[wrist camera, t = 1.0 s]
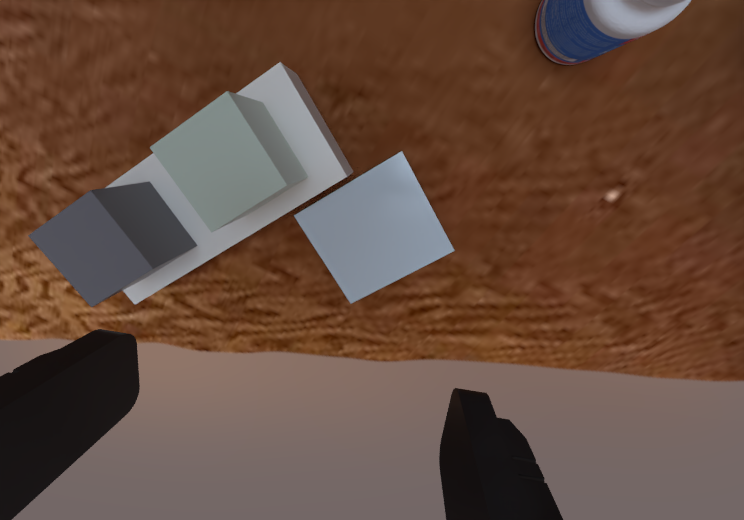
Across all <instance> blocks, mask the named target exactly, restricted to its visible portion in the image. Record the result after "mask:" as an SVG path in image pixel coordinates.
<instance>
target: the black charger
mask: <svg viewBox="0 0 744 520" xmlns="http://www.w3.org/2000/svg"><path fill="white" fill-rule="evenodd" d="M28 236H29V237H30V238H31V239H32V241H33V242H34V243H35V244H36V245H37V246H38V247H39V248H40V250H41V251H42V252H43V253H44V254H45V255H46V256H47V257H48V259H49V260H50V261H51V262H52V263H53V264H54V265H55V267H56V268H57V269H58V270H59V271H60V272H61V273H62V274H63V276H64V277H65V278H66V279H67V280H68V281H69V282H70V284H71V285H72V286H73V287H74V288H75V289H76V290H77V291H78V293H79V294H80V295H81V296H82V297H83V298H84V299H85V301H86V302H87V303H88V304H89V305H90V306H91V307H93V306H95V305H97V304H99V303H100V302H102V301H104V300H106V299H108V298H110V297H111V296H113V295H115V294H117V293H119V292H121V291H123V290H124V289H126V288H128V287H130V286H132V285H134V284H136V283H137V282H139V281H141V280H143V279H145V278H146V277H148V276H150V275H151V274H153V273H154V272H156V271H158V270H159V269H161V268H163V267H164V266H166V265H167V264H169V263H171V262H172V261H174V260H175V259H177V258H179V257H180V256H182V255H184V254H185V253H187V252H188V251H190V250H192V249H193V248H195V247H196V246H197V244H196V243H195V241H194V240H193V239H192V237H191V236H190V235H189V233H188V232H187V231H186V229H185V228H184V227H183V225H182V224H181V223H180V221H179V220H178V219H177V217H176V216H175V215H174V213H173V212H172V211H171V209H170V208H169V207H168V205H167V204H166V203H165V201H164V200H163V199H162V197H161V196H160V195H159V193H158V192H157V191H156V189H155V188H154V187H153V185H152V184H151V183H150V181H149V182H142V183H136V184H129V185H123V186H116V187H109V188H103V189H96V190H90V191H89V192H88V193H86V194H85V195H84V196H82V197H81V198H79V199H78V200H77V201H75V202H74V203H73V204H71V205H70V206H68V207H67V208H66V209H64V210H63V211H61V212H60V213H59V214H57V215H56V216H55V217H53V218H52V219H50V220H49V221H48V222H46V223H45V224H44V225H42V226H41V227H39V228H38V229H37V230H35V231H34V232H33V233H31V234H30V235H28Z"/></svg>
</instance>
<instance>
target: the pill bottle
mask: <svg viewBox="0 0 744 520" xmlns="http://www.w3.org/2000/svg"><path fill="white" fill-rule="evenodd" d="M690 1H691V0H542V1H541V3H540V5H539V8H538V11H537V15H536V19H535V35H536V39H537V43H538V45H539V47H540V49H541V51H542V52H543V53H544V54H545V56H546V57H548V58H549V59H550V60H552V61H554V62H556V63H559V64H564V65H574V64H579V63H583V62H586V61H588V60H591V59H593V58H595V57H597V56H600V55H602V54H604V53H606V52H608V51H611V50H613V49H615V48H617V47H620V46H622V45H624V44H627V43H629V42H631V41H634V40H636V39H638V38H640V37H643V36H645V35H647V34H649V33H651V32H653V31H655V30H657V29H659V28H661V27H662V26H664V25H666V24H667V23H669V22H670V21H671V20H673V19H674V18H675V17H676V16H678V15H679V14H680V13H681V12H682V11H683V10H684V9H685V8H686V6H687V5H688V4H689V3H690Z"/></svg>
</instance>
